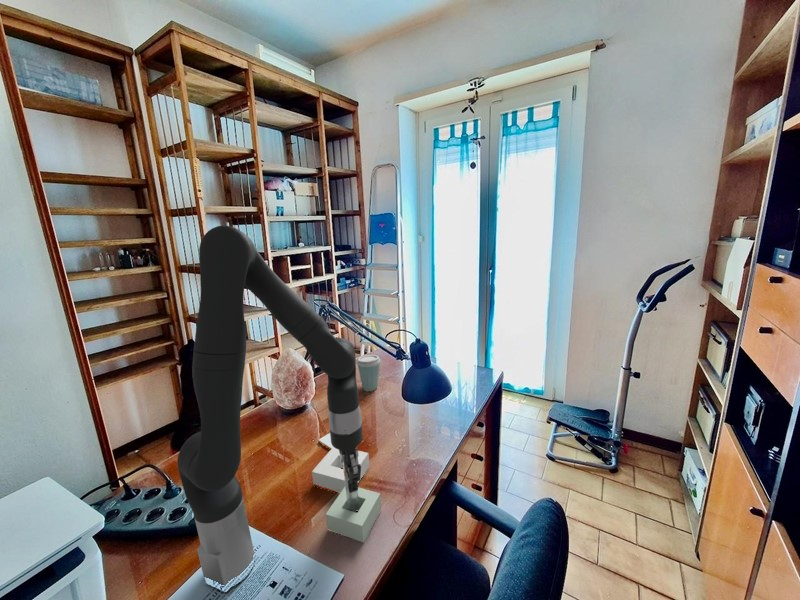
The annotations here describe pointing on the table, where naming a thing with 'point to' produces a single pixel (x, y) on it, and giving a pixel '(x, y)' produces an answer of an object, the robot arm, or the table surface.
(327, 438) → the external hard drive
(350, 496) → the steel pin
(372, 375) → the disposable coffee cup
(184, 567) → the table surface
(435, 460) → the table surface
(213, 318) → the robot arm
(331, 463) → the dock block
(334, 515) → the block
